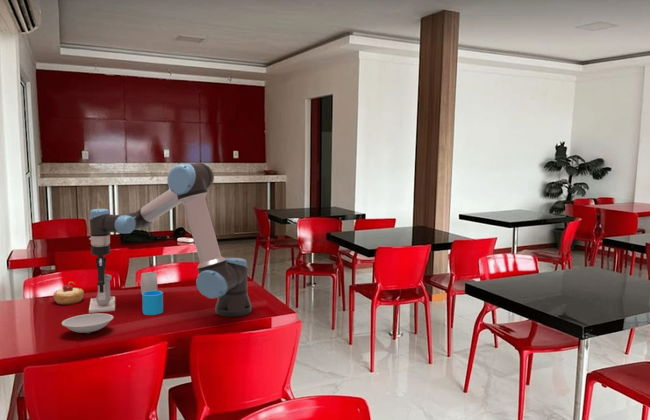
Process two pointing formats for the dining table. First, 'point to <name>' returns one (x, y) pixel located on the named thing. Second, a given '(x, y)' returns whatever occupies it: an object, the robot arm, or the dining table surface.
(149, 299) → the mug
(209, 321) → the dining table surface
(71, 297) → the pastry
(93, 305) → the tray
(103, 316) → the dish
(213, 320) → the dining table surface
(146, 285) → the tea bag
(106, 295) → the salt shaker
